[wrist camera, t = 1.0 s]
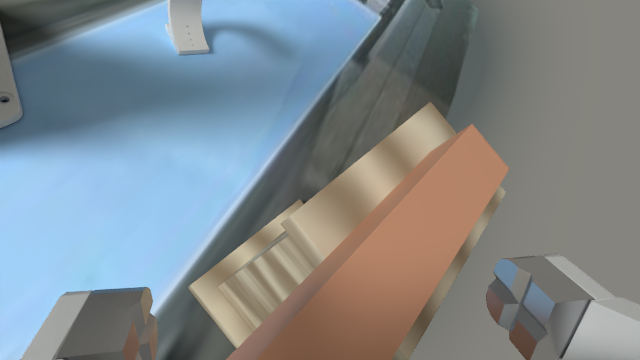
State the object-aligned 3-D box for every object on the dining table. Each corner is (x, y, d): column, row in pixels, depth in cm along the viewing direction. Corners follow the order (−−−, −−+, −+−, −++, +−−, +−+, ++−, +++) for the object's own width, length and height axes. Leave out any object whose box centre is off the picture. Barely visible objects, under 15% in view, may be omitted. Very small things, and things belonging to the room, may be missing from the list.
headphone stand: (178, 55, 52) (195, -14, 43) (162, 22, 53) (175, -53, 44) (208, 53, 55) (230, -13, 46) (192, 21, 56) (211, -49, 47)
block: (259, 471, 14) (304, 500, 11) (195, 391, 14) (222, 395, 11) (463, 191, 28) (509, 168, 25) (430, 151, 28) (472, 123, 25)
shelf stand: (256, 373, 40) (420, 374, 19) (187, 287, 40) (279, 200, 20) (348, 269, 51) (513, 201, 31) (295, 203, 51) (422, 92, 31)
